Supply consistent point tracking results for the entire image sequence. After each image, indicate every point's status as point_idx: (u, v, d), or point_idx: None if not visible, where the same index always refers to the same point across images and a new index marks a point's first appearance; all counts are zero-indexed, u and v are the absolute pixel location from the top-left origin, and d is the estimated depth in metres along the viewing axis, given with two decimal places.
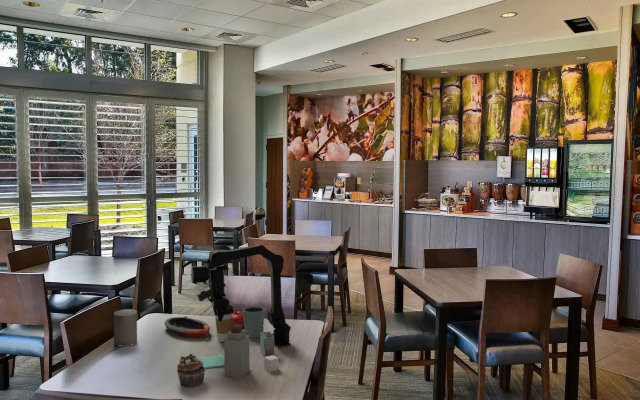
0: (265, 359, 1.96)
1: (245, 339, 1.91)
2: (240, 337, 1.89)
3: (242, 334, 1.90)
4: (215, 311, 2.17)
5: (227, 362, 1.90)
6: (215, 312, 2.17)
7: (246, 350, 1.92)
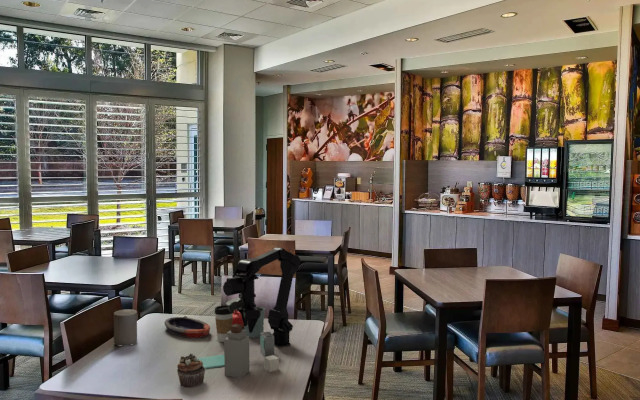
0: (265, 359, 1.96)
1: (245, 339, 1.91)
2: (240, 337, 1.89)
3: (242, 334, 1.90)
4: (244, 322, 2.14)
5: (227, 362, 1.90)
6: (244, 323, 2.14)
7: (246, 350, 1.92)
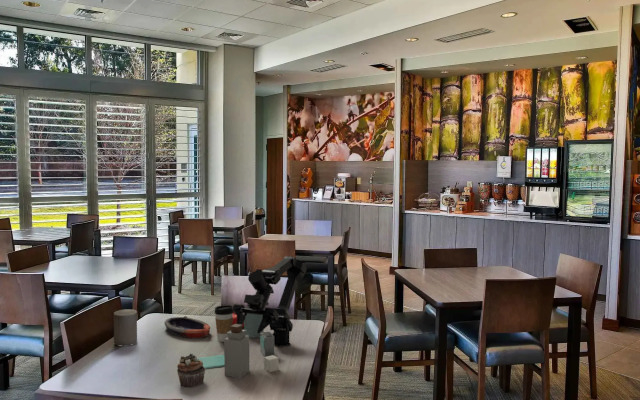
0: (265, 359, 1.96)
1: (245, 339, 1.91)
2: (240, 337, 1.89)
3: (242, 334, 1.90)
4: None
5: (227, 362, 1.90)
6: None
7: (246, 350, 1.92)
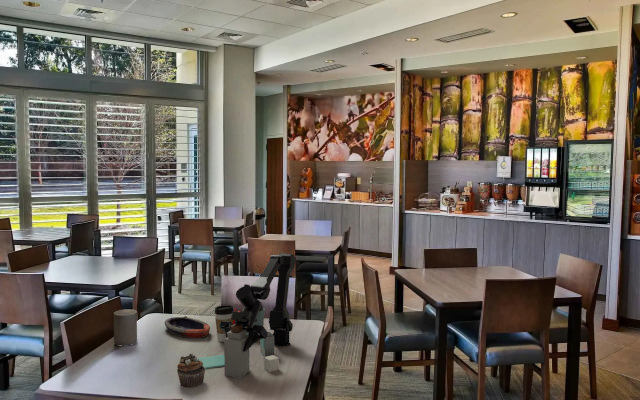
0: (265, 359, 1.96)
1: (245, 339, 1.91)
2: (240, 337, 1.89)
3: (242, 334, 1.90)
4: None
5: (227, 362, 1.90)
6: None
7: None
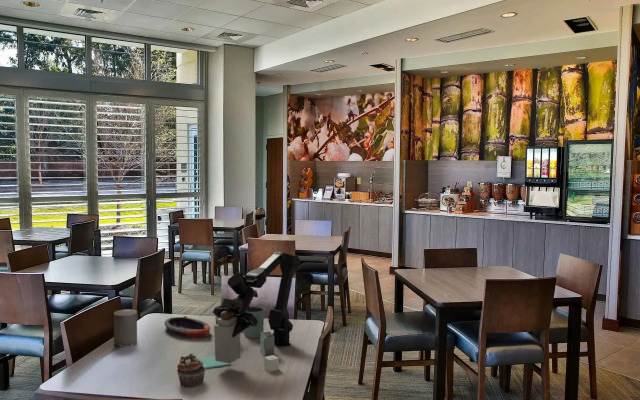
0: (265, 359, 1.96)
1: None
2: (229, 324, 1.92)
3: (231, 321, 1.93)
4: None
5: (217, 348, 1.93)
6: None
7: (236, 337, 1.94)
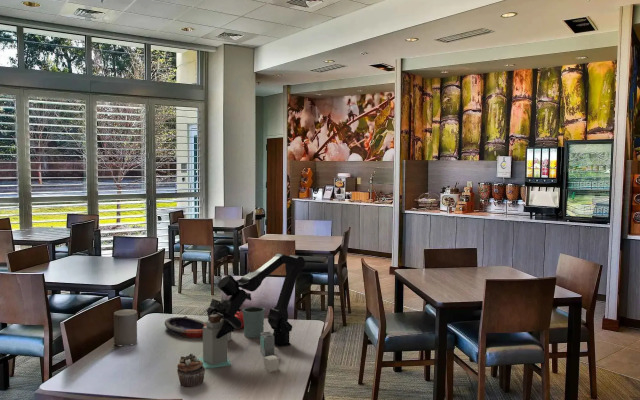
0: (265, 359, 1.96)
1: None
2: (214, 327, 2.00)
3: (217, 324, 2.00)
4: None
5: (204, 349, 2.02)
6: None
7: (222, 340, 2.01)
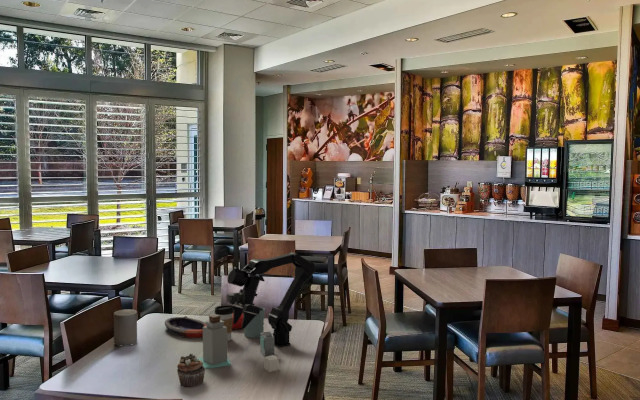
0: (265, 359, 1.96)
1: (220, 330, 2.00)
2: (214, 327, 2.00)
3: (217, 324, 2.00)
4: (235, 319, 2.16)
5: (204, 349, 2.02)
6: (234, 320, 2.16)
7: (222, 340, 2.01)
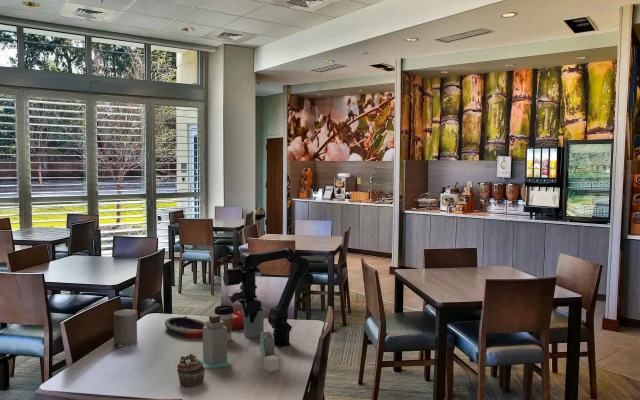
0: (265, 359, 1.96)
1: (220, 330, 2.00)
2: (214, 327, 2.00)
3: (217, 324, 2.00)
4: (245, 313, 2.20)
5: (204, 349, 2.02)
6: (245, 314, 2.20)
7: (222, 340, 2.01)
